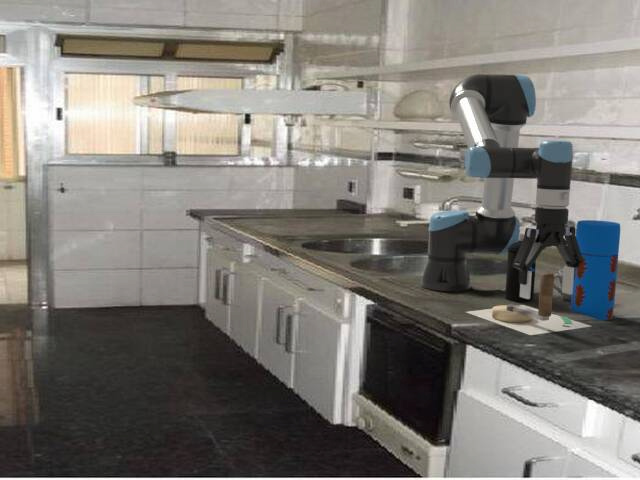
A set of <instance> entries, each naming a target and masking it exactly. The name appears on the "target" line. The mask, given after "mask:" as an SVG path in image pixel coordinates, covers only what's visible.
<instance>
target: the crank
mask: <svg viewBox="0 0 640 480" xmlns="http://www.w3.org/2000/svg"><path fill="white" fill-rule="evenodd" d="M554 274H555V273H551V272H550V273H549V272H541V273H540V282H539V296H538V297H539V298H538V308H537V309H538V311H534V310H532V309H529V308H526V307H522V306H518V304H500V305H494V306H493V307H492V308H491V309H492V317H493V318H495V319H497V320H501V321H506V322H516V323H521V322H529V321H532V320H533V318H535V319H539V320H542V321H545V320H549V316H551V314H552V313H551V312H553V311H552V309H553V308H552V307H553V298H554V297H553V296H554V295H553V294H554V288H553V282H554V283H555V279H554Z"/></svg>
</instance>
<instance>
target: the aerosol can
mask: <svg viewBox="0 0 640 480" xmlns="http://www.w3.org/2000/svg"><path fill="white" fill-rule="evenodd" d="M524 235H525V232H524V233H523V232H522V233H521V232H520V234H519V239H518V242H515V243H512V244H511V245H510V246H509V247H508V248H507V249H508V254H507V263H506V264H507V265H506V276H505V277H506V278H505V279H506V281H505V296H504V299H505V300H507V301H510V302H515V303H531V302H533V301H534V296H535V295H534V294H535V281H536V264H537V259H536V260H535V262H534V263H533V265H532V266H531V268H530V269H529V271H532V276H531V292H530V299H525V298H522V297H520V284H519V269H516V268H514V267H513V266H512V265H513V262H514V260H515V257H516V255H517V253H518V250H519V248H520V246H521V244H522V241H523V239H524ZM525 266H526V265H525Z"/></svg>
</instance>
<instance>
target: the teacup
mask: <svg viewBox="0 0 640 480" xmlns="http://www.w3.org/2000/svg"><path fill="white" fill-rule="evenodd" d="M553 274H554V280H555V279H556V278H558V279H557V285H556V284H555V281H554V282H553V290H554V289H555V290H556V291H557V293H558V294H560V295H561V296H562V298H563V299H565V300H567V301H571V295H572V294H566V293H563V292H562V283H563V268H561V269H559V270H558V273H553Z"/></svg>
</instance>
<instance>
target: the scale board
mask: <svg viewBox="0 0 640 480" xmlns="http://www.w3.org/2000/svg"><path fill="white" fill-rule="evenodd" d="M517 305H518V304H517ZM518 306H522V307H526V308H529V309H532V310H534V311H538V309H539V308H534V307H531V306H529V305H525V304H520V305H518ZM465 313H467V314H470V315H472V316H474V317H478V318H480V319H483V320H486V321H489V322H492V323H494V324H498V325H500V326H502V327H506V328H509V329H511V330H515V331H517V332H520V333H523V334H526V335H529V336H534V335H543V334H548V333H549V334H550V333H556V332H563V331H568V330H570V331H571V330H576V329H577V330H578V329H584V328H590V327H592V325H590V324H586V323H583V322H580V321H577V320H572V319H571V318H569V317H567V316H560V315H557V314H555V313H556V312H555V311H551V316H549V320H545V321H542V320H539V319H535V318H533V320H532V321H529V322H521V323H516V322H506V321H501V320H497V319H495V318H493V317H492V308H488V309H487V308H486V309H479V310H469V311H465Z"/></svg>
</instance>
